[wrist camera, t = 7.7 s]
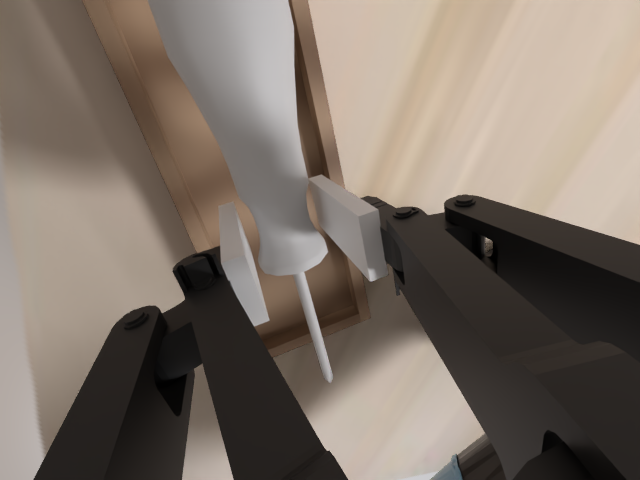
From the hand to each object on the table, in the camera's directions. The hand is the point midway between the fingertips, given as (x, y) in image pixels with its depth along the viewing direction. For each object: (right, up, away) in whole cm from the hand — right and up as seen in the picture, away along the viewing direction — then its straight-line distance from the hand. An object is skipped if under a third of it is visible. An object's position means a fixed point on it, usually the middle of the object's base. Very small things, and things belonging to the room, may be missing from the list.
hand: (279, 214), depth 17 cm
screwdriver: (0, 0, +1) cm, 1 cm away
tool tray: (-3, +3, +8) cm, 9 cm away
